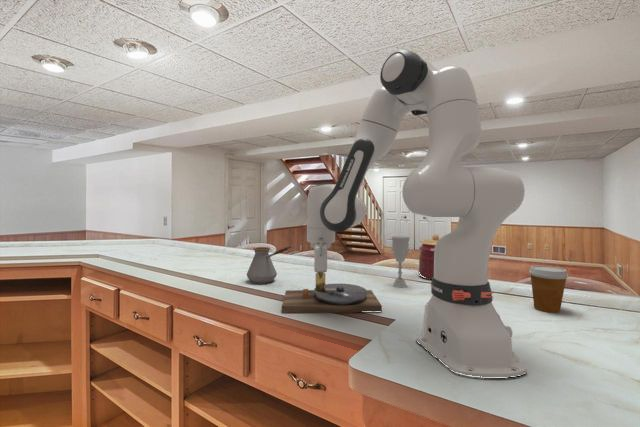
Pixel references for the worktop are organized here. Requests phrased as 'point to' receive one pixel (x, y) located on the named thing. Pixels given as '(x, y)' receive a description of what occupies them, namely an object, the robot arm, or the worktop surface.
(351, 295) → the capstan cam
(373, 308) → the walnut stand
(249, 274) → the coffee pot
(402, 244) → the chalice
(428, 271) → the canister
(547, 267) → the disposable coffee cup
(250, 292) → the worktop surface
